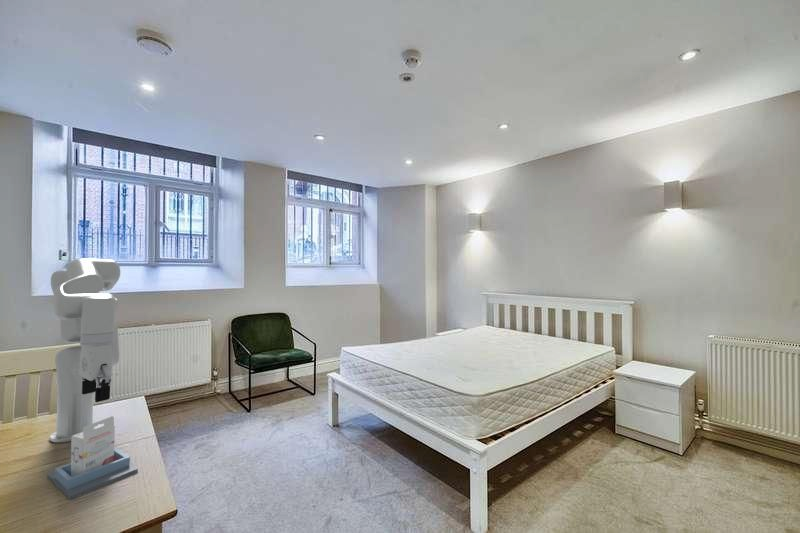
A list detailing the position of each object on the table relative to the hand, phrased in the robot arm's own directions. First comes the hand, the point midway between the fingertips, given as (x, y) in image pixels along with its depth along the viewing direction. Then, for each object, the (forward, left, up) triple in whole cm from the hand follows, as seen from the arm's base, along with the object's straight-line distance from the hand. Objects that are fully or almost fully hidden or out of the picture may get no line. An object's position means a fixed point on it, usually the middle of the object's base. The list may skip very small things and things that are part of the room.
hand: (95, 396), depth 102 cm
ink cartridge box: (0, 0, -22) cm, 22 cm away
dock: (0, 0, -23) cm, 23 cm away
